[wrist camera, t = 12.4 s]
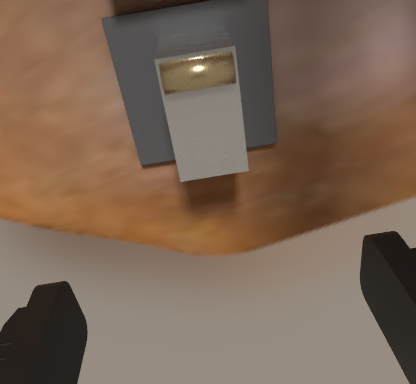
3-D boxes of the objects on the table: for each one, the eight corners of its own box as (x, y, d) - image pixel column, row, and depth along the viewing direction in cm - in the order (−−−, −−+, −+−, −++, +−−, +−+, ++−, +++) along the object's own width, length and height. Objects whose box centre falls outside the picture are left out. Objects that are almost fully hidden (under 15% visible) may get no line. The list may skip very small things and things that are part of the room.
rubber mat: (102, 18, 24) (101, 19, 24) (264, -11, 24) (266, -10, 23) (141, 161, 29) (140, 165, 29) (274, 139, 29) (276, 143, 29)
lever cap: (158, 36, 24) (153, 63, 19) (223, 25, 24) (237, 49, 19) (180, 139, 28) (180, 188, 22) (235, 130, 28) (250, 177, 22)
